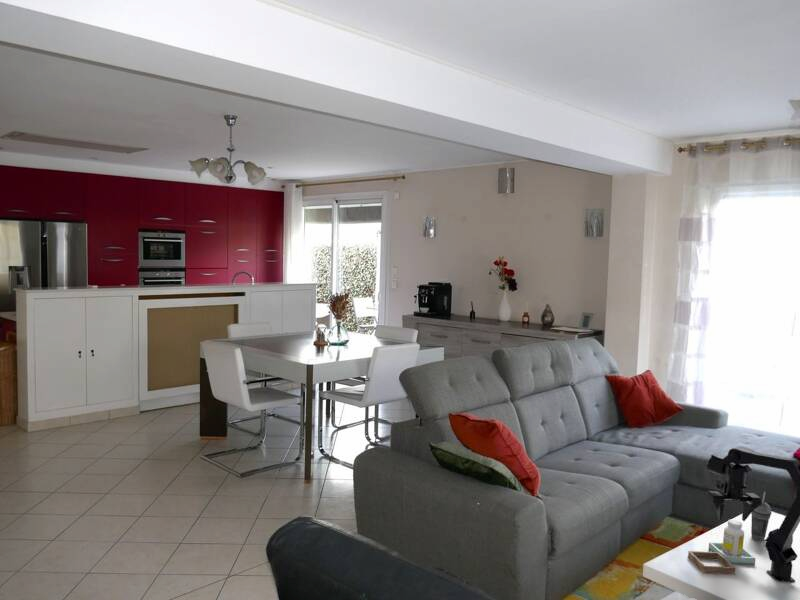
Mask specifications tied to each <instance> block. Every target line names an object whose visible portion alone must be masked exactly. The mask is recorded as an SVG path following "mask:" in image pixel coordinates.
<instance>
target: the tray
mask: <svg viewBox="0 0 800 600" xmlns="http://www.w3.org/2000/svg"><path fill="white" fill-rule="evenodd" d="M722 547H723V542H717V541H716V542H715V541H711V542H710V541H709V542H708V549H709V550H710V552H719V553H720V554H721V555H722V556H723V557H724V558H726V559H727V560H728V561H729V562H730V563H731V564H732V565H733V564H734V565H750V566H751V565H752V566H753V565H754V566H755V565H756V557H755V556H754V555H752V554H751V553H750V552H749V551H748V550H746V549H745V547H743V551H742V557H738V556H726V555H724V554H723V552H722Z"/></svg>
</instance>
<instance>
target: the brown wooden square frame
mask: <svg viewBox="0 0 800 600" xmlns="http://www.w3.org/2000/svg"><path fill="white" fill-rule="evenodd" d="M687 558H688V560H690V561H691V562H692V563H693V564H694V565H695V567H696V568H697V569H699V570H700V572H701V573H702V574H703V575H704V574H705V575H706V574H707V575H708V574H710V575H728V576H729V575H733V576H734V575H736V569H737V568H736V566H734V565H733V564H731V563H730V562H729V561H728V560H727V559H726V558H724V557H723V556H722V555H721V554H720V553H719V552H712V551H700V550H699V551H698V550H695V551H694V550H688V555H687ZM701 560H717V562H719V563H720V564H721V565H722V566H720V565H719V566H717V565H715V566H714V565H706V564H704V562H702V561H701Z"/></svg>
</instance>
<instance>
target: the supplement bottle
mask: <svg viewBox="0 0 800 600" xmlns="http://www.w3.org/2000/svg"><path fill="white" fill-rule="evenodd" d="M742 528H743V523H742V521H739V520H738V519H737V520H736V519H733V518H732V519H728V520H727V525H726V526H725V527H724V528H723V529H724V530H723V538H722V543H723V547H722V552H723V554H724V555H726V556H738V557H742V551H743V548H744V538H745V533H744V532H745V531H744V530H743V529H742Z"/></svg>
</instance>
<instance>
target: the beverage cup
mask: <svg viewBox="0 0 800 600" xmlns="http://www.w3.org/2000/svg"><path fill="white" fill-rule="evenodd" d="M765 497H766V491H763V496H762V506H758V508H755V509H754V510H753V511H752V513H751V514H750V515H751V531H750V532H751V539H753V540H754V541H757V542H765V539H766V535H767V530H768V526H769V521H770V518H771V515H772V508H771V506H770V505H769V503H767V502H766V501H765Z"/></svg>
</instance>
